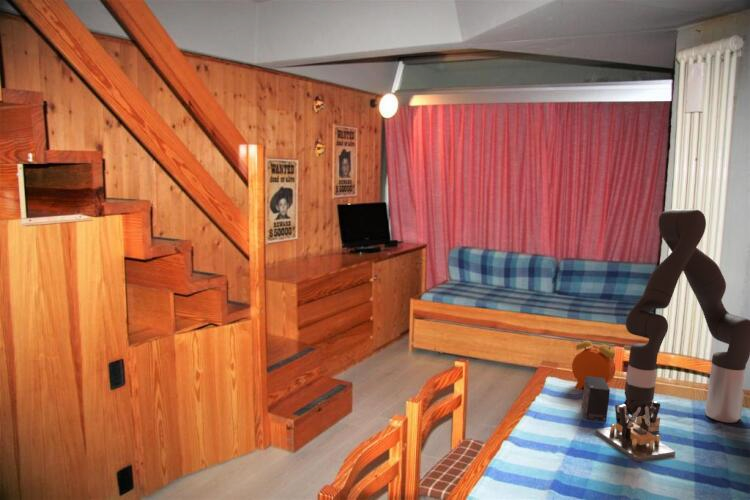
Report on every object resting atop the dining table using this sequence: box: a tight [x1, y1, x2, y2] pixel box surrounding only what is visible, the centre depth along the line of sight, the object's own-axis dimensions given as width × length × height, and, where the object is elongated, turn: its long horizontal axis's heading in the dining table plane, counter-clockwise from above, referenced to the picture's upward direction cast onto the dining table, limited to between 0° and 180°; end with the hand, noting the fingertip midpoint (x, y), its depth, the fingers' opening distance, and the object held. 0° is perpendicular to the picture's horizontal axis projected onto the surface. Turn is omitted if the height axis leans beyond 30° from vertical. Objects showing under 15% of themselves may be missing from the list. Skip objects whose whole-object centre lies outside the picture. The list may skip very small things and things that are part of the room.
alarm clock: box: [571, 332, 616, 390], centre depth 207 cm, size 13×6×20 cm, turn 49°
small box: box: [581, 376, 611, 422], centre depth 188 cm, size 11×6×10 cm, turn 168°
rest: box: [636, 414, 661, 433], centre depth 181 cm, size 3×6×4 cm, turn 18°
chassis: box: [594, 420, 676, 462], centre depth 169 cm, size 13×17×4 cm
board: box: [615, 420, 655, 445], centre depth 169 cm, size 5×10×3 cm, turn 18°
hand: (634, 437), depth 169 cm, fingers open, 5 cm apart
